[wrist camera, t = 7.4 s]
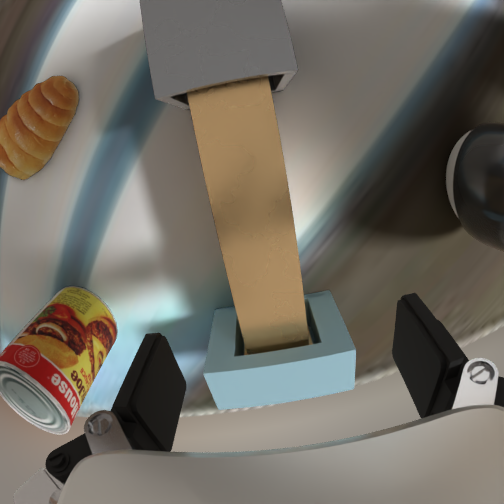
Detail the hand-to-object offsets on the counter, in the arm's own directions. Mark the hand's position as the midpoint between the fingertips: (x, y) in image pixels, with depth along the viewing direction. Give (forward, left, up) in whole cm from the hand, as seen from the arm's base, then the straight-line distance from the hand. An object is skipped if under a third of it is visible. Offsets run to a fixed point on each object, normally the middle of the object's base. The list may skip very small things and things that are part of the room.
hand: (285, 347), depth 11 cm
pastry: (+18, -14, -14) cm, 26 cm away
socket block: (+1, +8, -13) cm, 15 cm away
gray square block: (+1, -15, -13) cm, 20 cm away
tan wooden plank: (+1, -3, -12) cm, 12 cm away
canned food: (+20, +5, -13) cm, 24 cm away
